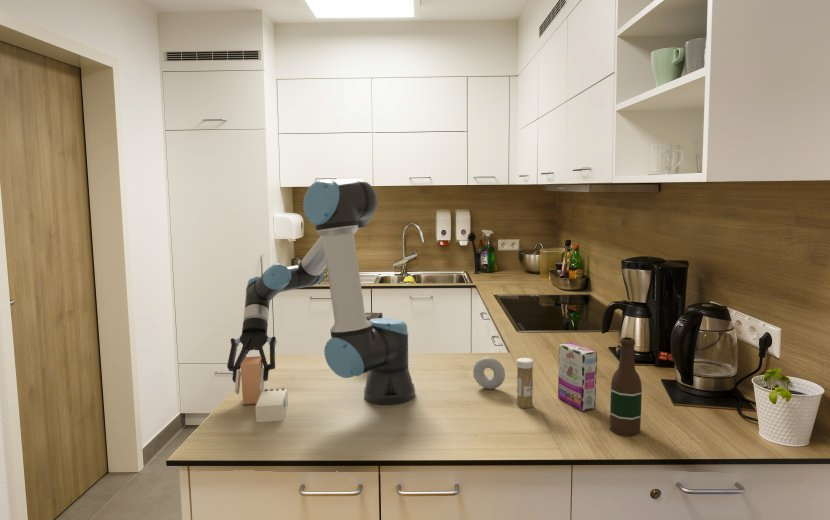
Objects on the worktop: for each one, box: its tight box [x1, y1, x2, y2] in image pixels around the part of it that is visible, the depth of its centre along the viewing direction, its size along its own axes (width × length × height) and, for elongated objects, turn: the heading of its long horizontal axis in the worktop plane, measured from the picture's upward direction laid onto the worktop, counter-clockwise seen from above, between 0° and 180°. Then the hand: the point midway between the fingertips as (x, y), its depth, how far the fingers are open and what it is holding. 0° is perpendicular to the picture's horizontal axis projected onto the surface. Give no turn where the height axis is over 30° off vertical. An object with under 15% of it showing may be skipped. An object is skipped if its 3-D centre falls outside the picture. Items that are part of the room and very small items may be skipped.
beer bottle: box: [609, 336, 643, 437], centre depth 147 cm, size 8×8×24 cm
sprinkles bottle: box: [516, 357, 534, 409], centre depth 165 cm, size 5×5×13 cm
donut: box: [472, 356, 506, 390], centre depth 179 cm, size 10×4×10 cm, turn 65°
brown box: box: [240, 356, 264, 405], centre depth 173 cm, size 5×7×12 cm
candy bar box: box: [557, 342, 598, 412], centre depth 166 cm, size 11×5×16 cm, turn 23°
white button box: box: [255, 387, 289, 423], centre depth 164 cm, size 7×12×5 cm, turn 6°
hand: (249, 391), depth 170 cm, fingers open, 6 cm apart
